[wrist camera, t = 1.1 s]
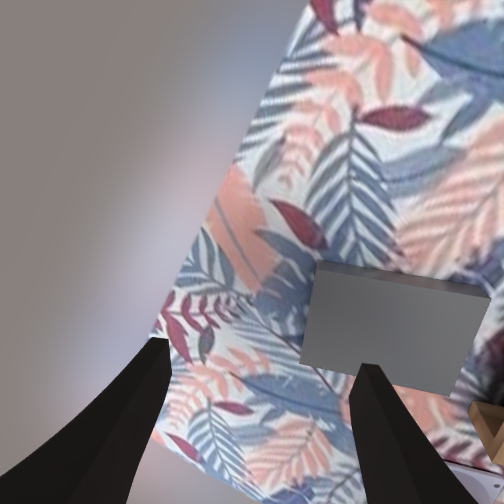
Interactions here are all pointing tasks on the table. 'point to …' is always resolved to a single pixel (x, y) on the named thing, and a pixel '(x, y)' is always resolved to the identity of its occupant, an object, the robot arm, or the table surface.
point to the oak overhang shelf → (489, 428)
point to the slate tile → (391, 325)
